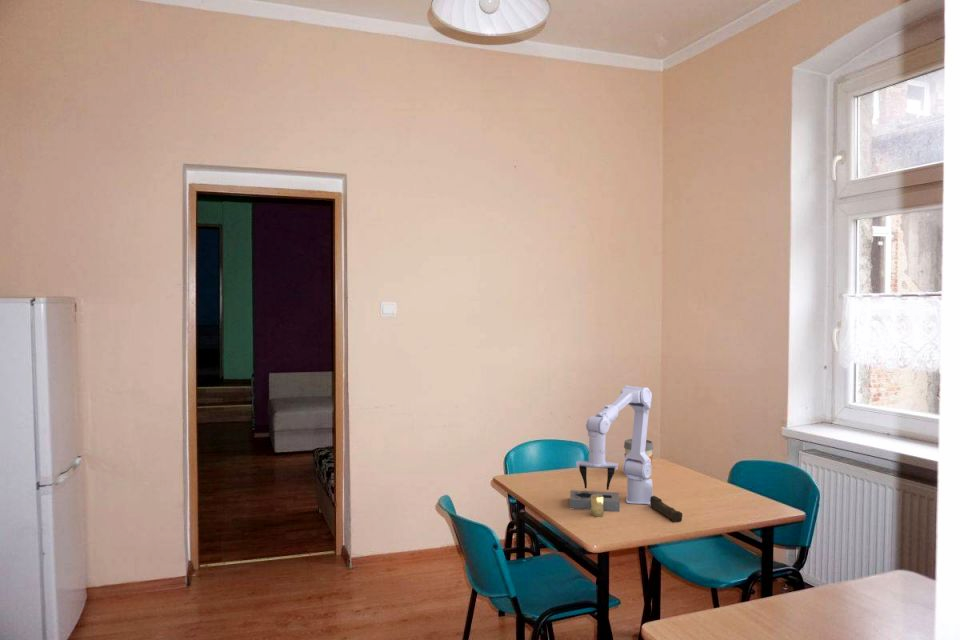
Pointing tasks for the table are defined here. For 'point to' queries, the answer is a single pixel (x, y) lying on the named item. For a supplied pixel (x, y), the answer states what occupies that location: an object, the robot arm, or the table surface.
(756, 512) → the table surface
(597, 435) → the robot arm
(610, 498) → the grey flat block
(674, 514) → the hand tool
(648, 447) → the reusable coffee cup
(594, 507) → the brass fitting
